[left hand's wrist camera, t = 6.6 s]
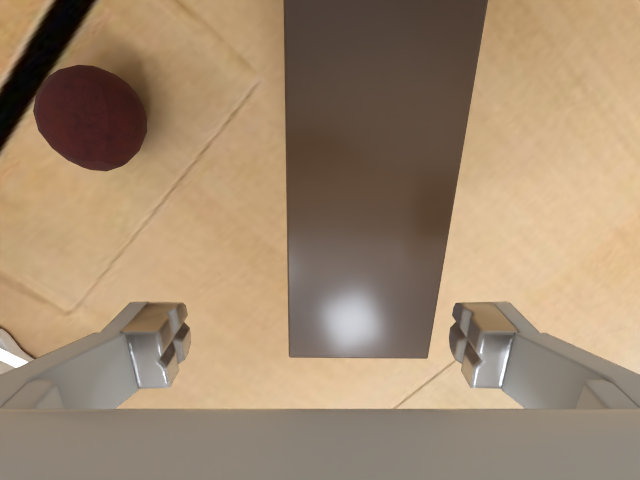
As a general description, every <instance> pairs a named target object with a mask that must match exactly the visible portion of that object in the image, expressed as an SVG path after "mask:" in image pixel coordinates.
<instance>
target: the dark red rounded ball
mask: <svg viewBox="0 0 640 480" xmlns="http://www.w3.org/2000/svg"><path fill="white" fill-rule="evenodd" d="M33 112H34V115H35V119H36V123H37V126H38V130H39V132H40V133H41V134H42V136H43V137H44V138H45V139H46V141H47V142H48V143H49V145H50V146H51V147H52V148H53V149H54V150H55V151H57V152H58V153H59V154H60V155H62V156H63V157H64V158H66V159H67V160H68V161H71V162H73V163H75V164H77V165H79V166H81V167H83V168H86V169H90V170H98V171H109V170H112V169H115V168H118V167H121V166H123V165H125V164H126V163H127V162H128V161H129V160H130V159H131V158H132V157H133V156H134V155H135V154H136V153H137V152H138V151H139V150H140V148H141V145H142V143H143V140H144V138H145V135H146V133H147V121H146V115H145V111H144V108H143V105H142V103H141V101H140V99H139V97H138V96H137V94H136V93H135V92H134V91H133V89H132V88H131V87H130V86H129V85H128V84H127V83H126V82H124V81H123V80H122V79H120V78H119V77H118V76H116V75H114V74H112V73H110V72H108V71H105V70H103V69H100V68H97V67H94V66H86V65H76V66H72V67H68V68H64V69H60V70H58V71H56V72H54V73H53V74H51V75H50V76H49V77H48V78H47V79H46V80H45V82H44V83H43V84H42V85H41V87H40V89H39V91H38V93H37V95H36V98H35V104H34V110H33Z"/></svg>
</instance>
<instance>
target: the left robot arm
mask: <svg viewBox="0 0 640 480" xmlns="http://www.w3.org/2000/svg"><path fill="white" fill-rule="evenodd" d="M187 316H188V314H187V309H186V305H185V304H184V303H183V302H131V303H129V304H128V305H127V306H126V307H125V308H124V309H123V310H122V311H121V312H120V313H119V314H118V315H117V316H116V317H115V318H114V319H113V320H112V321H111V322H110V323H109V324H108V325H107V326H106V327H105V328H104V329H103V330H102V331H101V332H100V333H93V334H91V335H88V336H86V337H84V338H82V339H79V340H77V341H75V342H73V343H70V344H68V345H66V346H64V347H61V348H59V349H57V350H55V351H52V352H50V353H48V354H46V355H43V356H41V357H39V358H37V359H33V358H32V357H30V356H29V355H27V354H26V353H25V352H23V351H22V350H21V349H20V348H19V346H18V345H17V344H16V342H15V341H14V340H13V338H12V337H11V336H10V335H9V334H8V333H7V332H6V331H4V330H3V329H1V328H0V480H640V375H639V374H637V373H635V372H632V371H630V370H628V369H626V368H623V367H621V366H619V365H617V364H614V363H612V362H610V361H608V360H605V359H603V358H601V357H599V356H596V355H594V354H592V353H590V352H587V351H585V350H583V349H581V348H578V347H576V346H574V345H572V344H569V343H567V342H565V341H563V340H561V339H558V338H556V337H554V336H552V335H549V334H547V333H540V332H539V331H538V330H537V329H536V328H535V327H534V326H533V325H532V324H531V323H530V322H529V321H528V320H527V319H526V318H525V317H524V316H523V315H522V314H521V313H520V312H519V311H518V310H517V309H516V308H515V307H514V306H513V305H512V304H511V303H509V302H506V301H505V302H473V303H456V304H455V306H454V308H453V314H452V316H453V317H454V319H455V320H456V322H455V324H454V325H453V326H452V327H451V328H450V334H449V342H450V349H451V352H452V354H453V356H454V358H455V360H457V361H458V362H460V363H461V364H462V367H461V371H462V373H463V375H464V377H465V379H466V380H467V382H468V384H469V386H470V388H497V389H502V391H503V392H505V393H506V394H507V395H509V396H510V397H511V398H512V399H514V400H515V401H516V402H517V403H519V404H520V405H521V406H523V407H524V408H525V409H115V408H116V407H118V406H119V405H120V404H121V403H123V402H124V401H125V400H127V399H128V398H129V397H130V396H132V395H133V394H134V393H135V392H137V391H138V389H143V388H170V386H171V384H172V382H173V380H174V379H175V377H176V375H177V373H178V371H179V367H178V364H179V363H180V362H182V361H183V360H185V358H186V356H187V354H188V352H189V348H190V344H191V333H190V328H189V327H188V326H187V325H186V324H185V322H184V320H185V319H186V317H187Z"/></svg>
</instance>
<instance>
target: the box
mask: <svg viewBox="0 0 640 480" xmlns="http://www.w3.org/2000/svg"><path fill="white" fill-rule="evenodd" d="M487 3H488V0H284V55H285V124H286V192H287V261H288V330H289V357H304V358H420V359H426V358H428V352H429V346H430V341H431V335H432V329H433V323H434V317H435V311H436V305H437V299H438V293H439V287H440V281H441V275H442V269H443V263H444V258H445V252H446V246H447V240H448V234H449V228H450V222H451V216H452V210H453V204H454V198H455V192H456V186H457V180H458V175H459V169H460V163H461V157H462V151H463V145H464V139H465V133H466V127H467V121H468V115H469V109H470V103H471V97H472V91H473V86H474V80H475V74H476V68H477V62H478V56H479V50H480V44H481V38H482V32H483V26H484V20H485V14H486V8H487Z"/></svg>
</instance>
